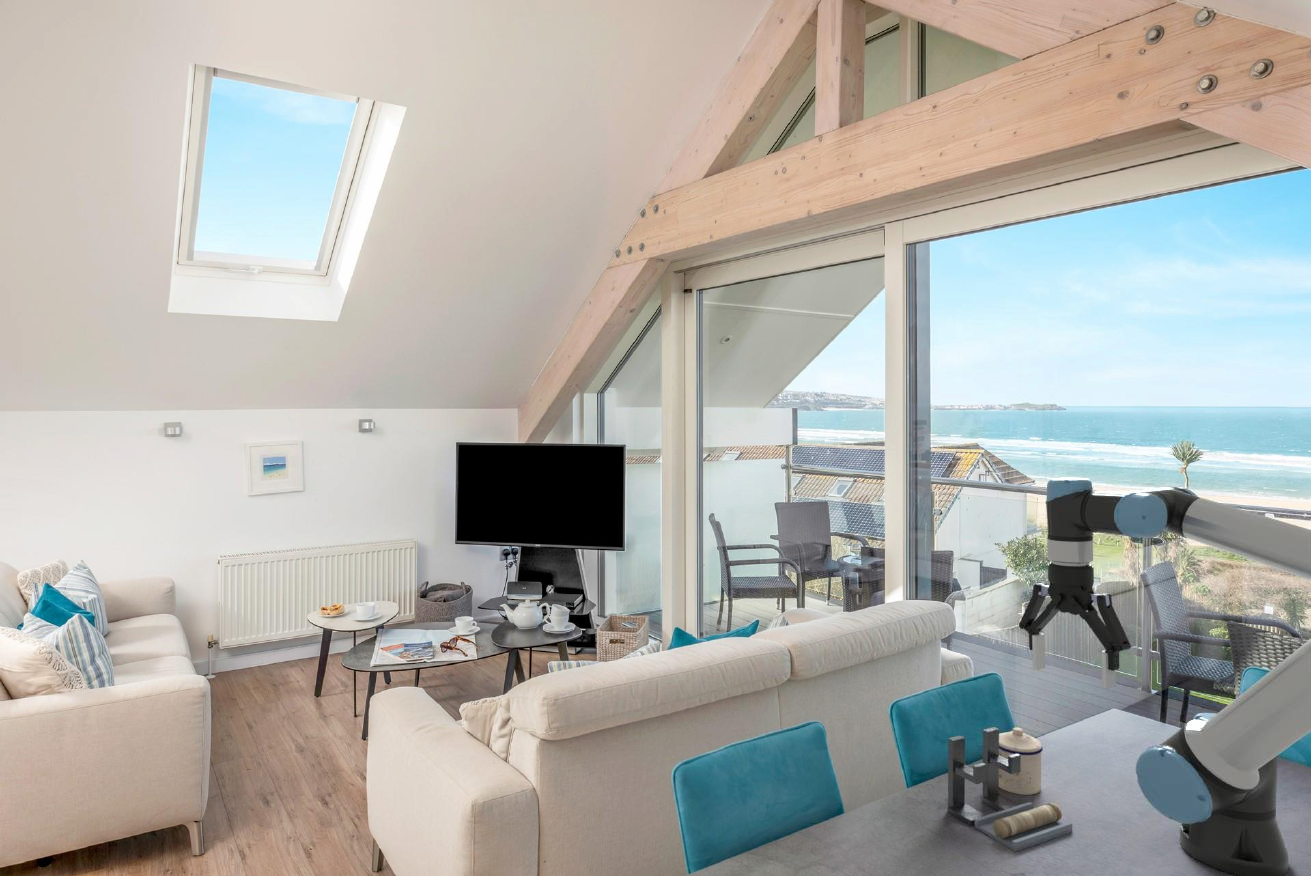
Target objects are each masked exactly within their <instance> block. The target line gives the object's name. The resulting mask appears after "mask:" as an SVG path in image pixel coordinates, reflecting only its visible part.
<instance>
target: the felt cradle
mask: <svg viewBox="0 0 1311 876" xmlns="http://www.w3.org/2000/svg"><path fill="white" fill-rule="evenodd" d="M1034 808H1035V807H1034V803H1033V802H1031V801H1028V802H1025V803H1021V804H1020V805H1018V806H1015V807H1012V808H1009V809H1006V810H1002V811H997V812H993V813H991V814H985V815H986V816H983V817H980V818H977V819H975V825H974V828H976V829H977V830H978V831H980V832H982V833H984V834H985V835H987V836H989V838H992V839H994V840H996V841H997V842H999V843H1000V844H1002V845H1004V846H1006V847H1007V848H1008V849H1011V850H1012V851H1015V852H1018V851H1021V850H1023V849H1026V848H1029V847H1033V846H1035V845H1037V844H1041V843H1044V842H1047V841H1050V840H1053V839H1055V838H1058V837H1061V836H1064V835H1068V834H1069V833H1072V832H1073V823H1072V822H1070V821H1068V822H1064V823H1063V822H1061V821H1060V820H1059V821H1056V822H1053V823H1050V824H1047V825H1044V826H1040V827H1037V828H1034V829H1031V830H1028V831H1025V832H1022V833H1019V834H1016V835H1013V836H1010V837H1007V838H1004V839H1001V838H999V837H998V836H997V835H996V834H995V832H994V830H993V822H994V821H996V820H997V819H1000V818H1005V817H1008V816H1012V815H1015V814H1018V813H1021V812H1024V811H1028V810H1031V809H1034Z"/></svg>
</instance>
